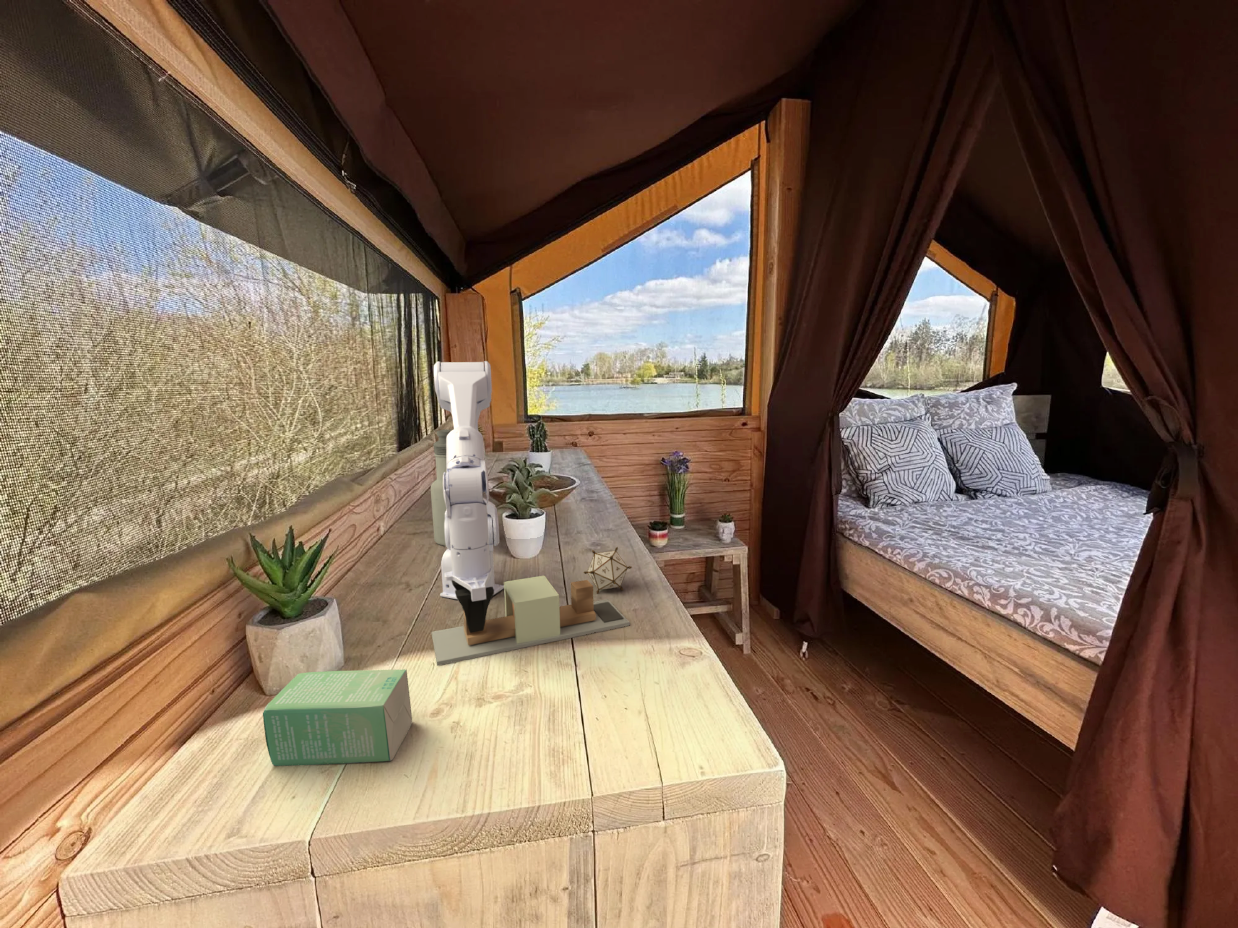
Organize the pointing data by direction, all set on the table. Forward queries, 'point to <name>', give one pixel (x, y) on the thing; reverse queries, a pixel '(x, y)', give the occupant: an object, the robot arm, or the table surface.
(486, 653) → the track board
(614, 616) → the pit
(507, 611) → the tunnel
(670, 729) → the table surface
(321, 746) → the box
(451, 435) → the robot arm
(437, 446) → the water bottle
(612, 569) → the game die
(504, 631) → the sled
